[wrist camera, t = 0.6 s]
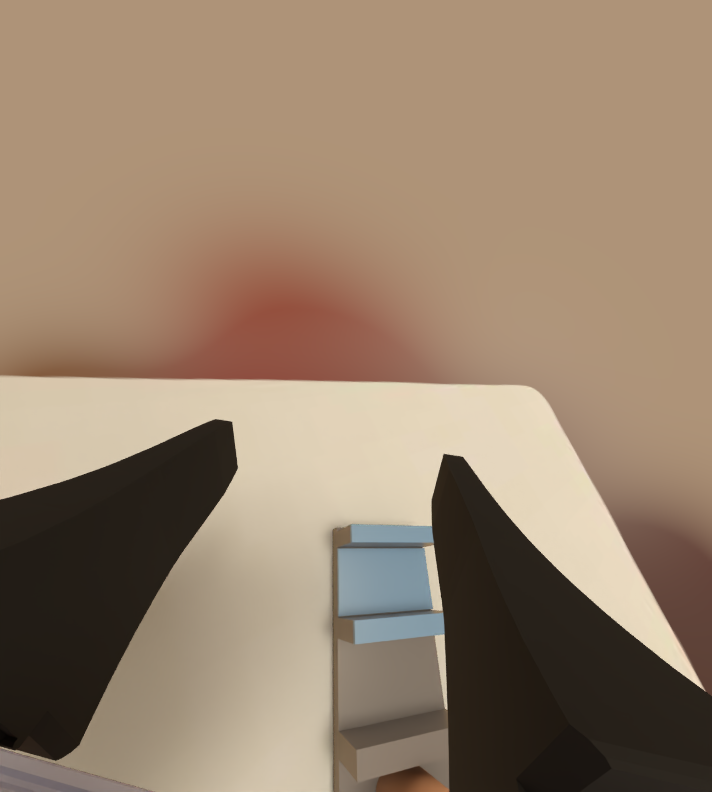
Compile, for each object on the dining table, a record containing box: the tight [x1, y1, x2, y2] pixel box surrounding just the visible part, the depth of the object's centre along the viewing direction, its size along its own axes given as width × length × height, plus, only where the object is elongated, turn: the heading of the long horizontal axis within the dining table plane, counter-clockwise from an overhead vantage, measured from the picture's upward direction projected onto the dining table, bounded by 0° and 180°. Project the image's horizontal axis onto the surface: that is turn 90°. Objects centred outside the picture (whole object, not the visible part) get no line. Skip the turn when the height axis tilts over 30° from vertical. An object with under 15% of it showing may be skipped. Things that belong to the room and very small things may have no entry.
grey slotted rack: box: [333, 524, 449, 792], centre depth 21 cm, size 19×8×4 cm, turn 3°
